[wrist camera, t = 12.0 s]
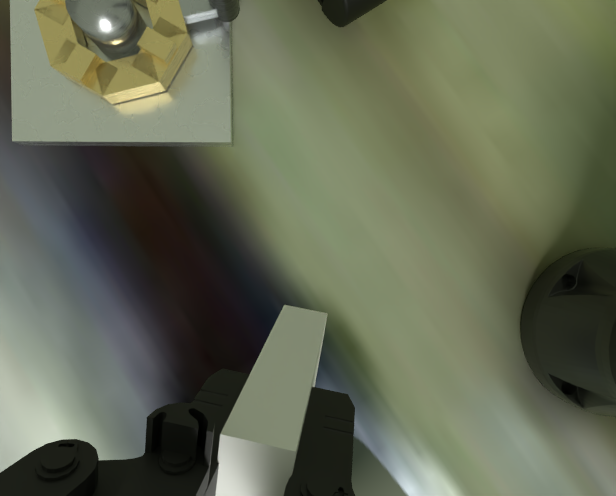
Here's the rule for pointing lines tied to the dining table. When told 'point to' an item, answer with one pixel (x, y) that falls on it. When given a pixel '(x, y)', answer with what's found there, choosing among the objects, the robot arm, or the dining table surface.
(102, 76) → the gold and grey piece
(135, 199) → the dining table surface
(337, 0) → the end cap
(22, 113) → the housing
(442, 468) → the dining table surface
